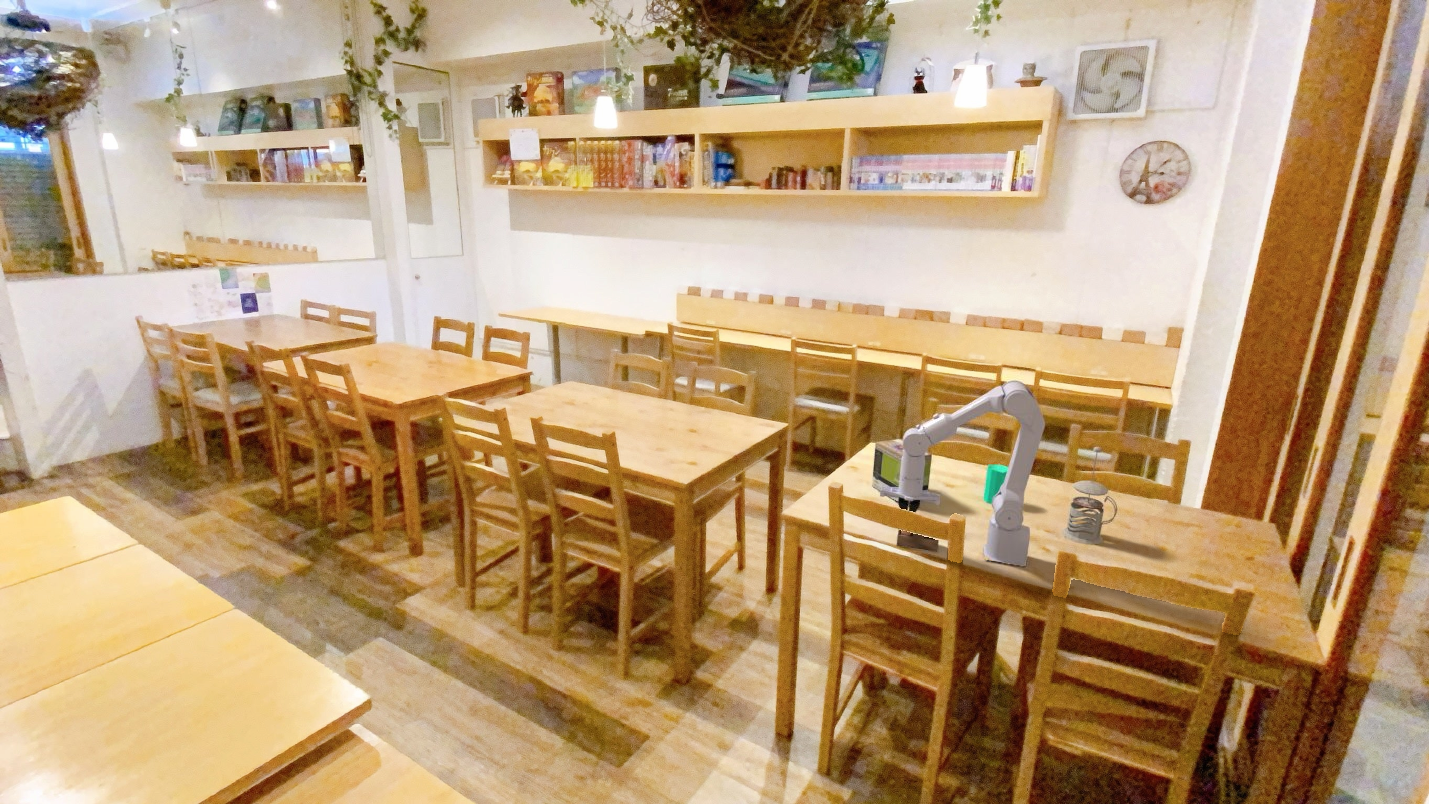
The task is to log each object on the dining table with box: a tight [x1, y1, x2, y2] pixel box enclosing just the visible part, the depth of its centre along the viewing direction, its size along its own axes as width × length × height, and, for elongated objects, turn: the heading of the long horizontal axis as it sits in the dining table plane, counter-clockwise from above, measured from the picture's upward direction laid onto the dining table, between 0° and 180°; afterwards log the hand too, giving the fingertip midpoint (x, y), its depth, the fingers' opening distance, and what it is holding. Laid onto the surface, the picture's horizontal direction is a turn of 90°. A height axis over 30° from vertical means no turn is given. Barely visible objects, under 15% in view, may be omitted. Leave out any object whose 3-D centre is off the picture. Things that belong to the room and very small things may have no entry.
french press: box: [1061, 446, 1118, 545], centre depth 179 cm, size 10×12×25 cm
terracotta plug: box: [901, 530, 911, 536], centre depth 177 cm, size 4×4×4 cm
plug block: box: [896, 529, 940, 553], centre depth 177 cm, size 10×4×3 cm, turn 71°
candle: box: [982, 464, 1009, 505], centre depth 202 cm, size 6×6×12 cm
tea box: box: [871, 438, 933, 504], centre depth 206 cm, size 15×10×15 cm, turn 22°
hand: (906, 525), depth 177 cm, fingers closed, pressing on terracotta plug
